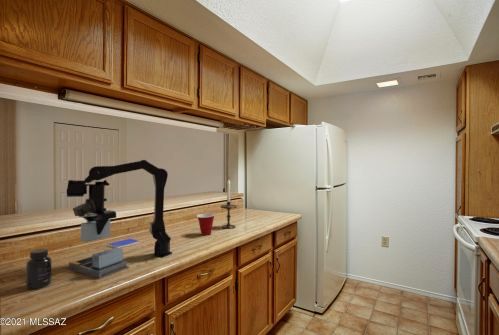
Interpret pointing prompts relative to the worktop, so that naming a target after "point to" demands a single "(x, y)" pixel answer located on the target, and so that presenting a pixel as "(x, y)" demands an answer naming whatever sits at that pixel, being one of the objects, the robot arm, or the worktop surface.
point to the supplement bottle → (38, 269)
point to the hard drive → (123, 243)
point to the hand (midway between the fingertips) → (95, 233)
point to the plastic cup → (206, 223)
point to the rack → (101, 263)
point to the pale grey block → (93, 231)
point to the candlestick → (228, 208)
